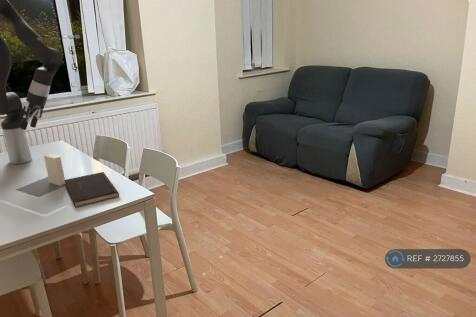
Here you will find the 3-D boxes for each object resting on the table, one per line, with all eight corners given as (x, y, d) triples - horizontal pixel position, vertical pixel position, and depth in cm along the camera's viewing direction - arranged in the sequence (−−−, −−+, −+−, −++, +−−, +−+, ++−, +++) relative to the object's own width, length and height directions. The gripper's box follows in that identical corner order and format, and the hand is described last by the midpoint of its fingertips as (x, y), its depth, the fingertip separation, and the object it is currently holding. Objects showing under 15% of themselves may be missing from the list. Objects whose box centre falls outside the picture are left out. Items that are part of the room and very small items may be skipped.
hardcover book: (75, 207, 138) (74, 202, 137) (65, 185, 156) (64, 179, 155) (119, 197, 146) (118, 191, 145) (104, 176, 164) (104, 171, 163)
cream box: (49, 182, 159) (43, 155, 154) (54, 180, 161) (49, 153, 157) (60, 185, 155) (54, 158, 151) (65, 183, 157) (60, 156, 153)
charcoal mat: (15, 190, 153) (15, 189, 153) (49, 177, 165) (48, 176, 165) (38, 198, 146) (38, 197, 146) (71, 183, 158) (71, 182, 158)
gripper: (37, 89, 169) (27, 123, 172) (21, 90, 155) (10, 126, 158) (54, 95, 170) (43, 129, 172) (39, 96, 156) (28, 133, 158)
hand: (27, 128), depth 165 cm, fingers open, 8 cm apart
